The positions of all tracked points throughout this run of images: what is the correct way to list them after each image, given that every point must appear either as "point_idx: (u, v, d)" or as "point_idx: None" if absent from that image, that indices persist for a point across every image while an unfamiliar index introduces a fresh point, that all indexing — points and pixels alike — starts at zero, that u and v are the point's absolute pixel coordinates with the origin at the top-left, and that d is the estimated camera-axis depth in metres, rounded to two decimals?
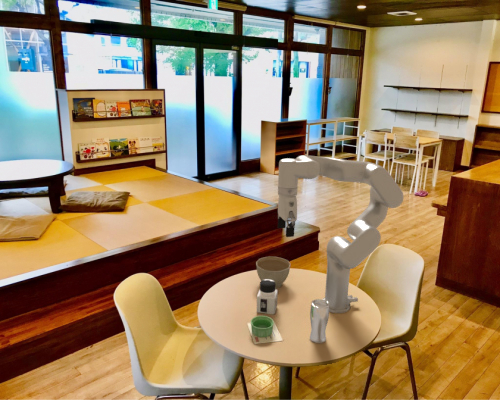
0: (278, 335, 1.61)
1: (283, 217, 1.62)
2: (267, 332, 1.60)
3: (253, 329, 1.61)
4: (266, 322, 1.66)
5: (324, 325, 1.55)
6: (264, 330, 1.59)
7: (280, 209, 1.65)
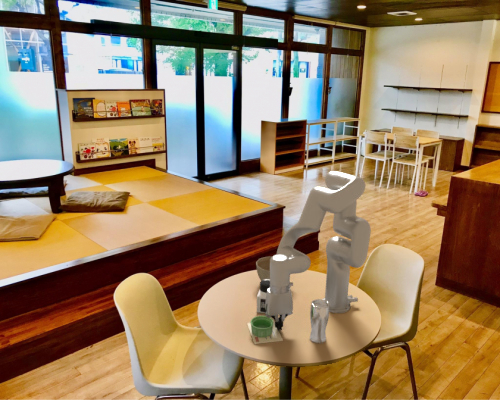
0: (278, 335, 1.61)
1: (287, 311, 1.61)
2: (267, 332, 1.60)
3: (253, 329, 1.61)
4: (266, 322, 1.66)
5: (324, 325, 1.55)
6: (264, 330, 1.59)
7: (279, 307, 1.59)
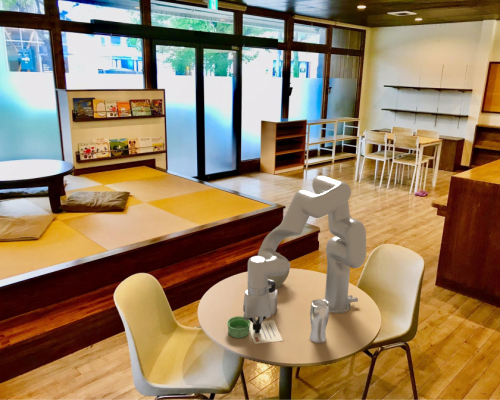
0: (278, 335, 1.61)
1: (265, 314, 1.59)
2: (241, 333, 1.59)
3: (228, 329, 1.61)
4: (245, 323, 1.65)
5: (324, 325, 1.55)
6: (238, 331, 1.58)
7: (257, 310, 1.58)
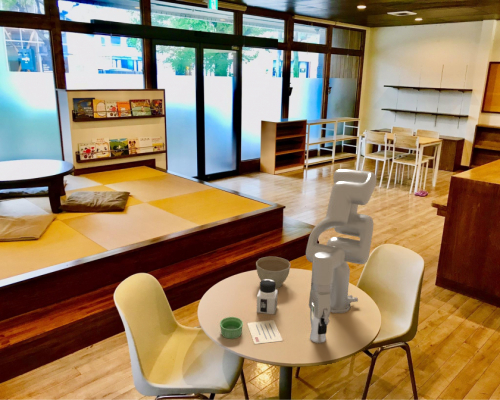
0: (278, 335, 1.61)
1: None
2: (233, 334, 1.59)
3: (221, 329, 1.61)
4: (238, 324, 1.65)
5: None
6: (230, 331, 1.58)
7: None
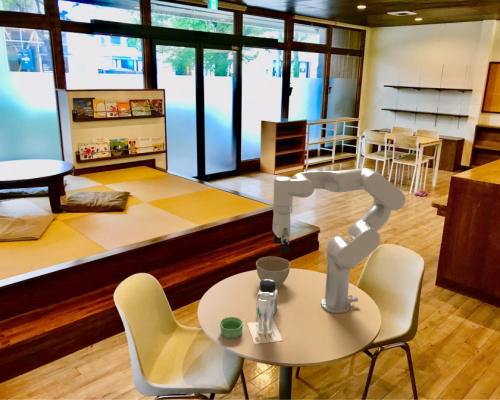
0: (278, 335, 1.61)
1: None
2: (233, 334, 1.59)
3: (221, 329, 1.61)
4: (238, 324, 1.65)
5: (269, 317, 1.60)
6: (230, 331, 1.58)
7: None
